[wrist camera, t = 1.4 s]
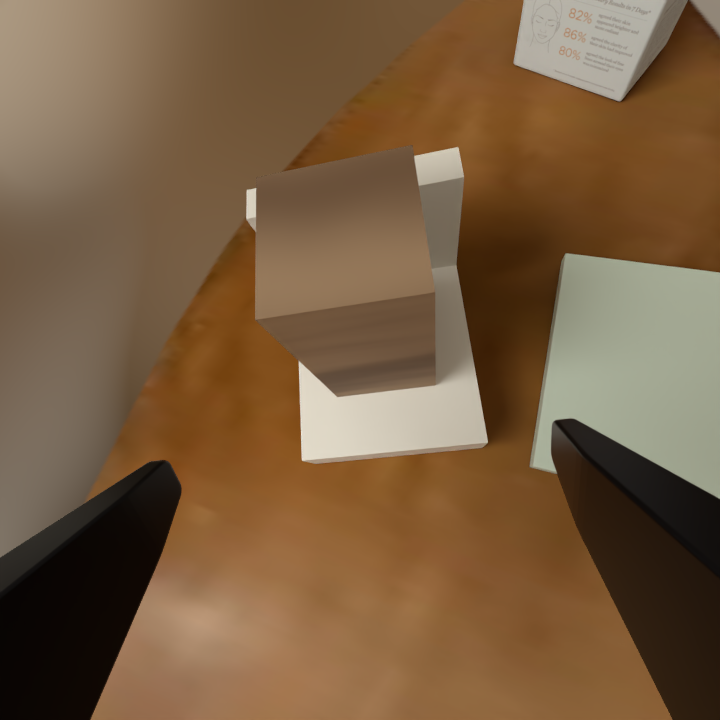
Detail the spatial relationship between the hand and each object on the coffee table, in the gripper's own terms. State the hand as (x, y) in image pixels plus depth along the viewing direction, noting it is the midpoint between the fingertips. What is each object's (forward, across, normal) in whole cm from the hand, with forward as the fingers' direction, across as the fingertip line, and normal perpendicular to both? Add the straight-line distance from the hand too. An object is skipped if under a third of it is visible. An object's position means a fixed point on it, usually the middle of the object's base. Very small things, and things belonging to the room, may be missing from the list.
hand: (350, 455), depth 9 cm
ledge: (+14, 0, +4) cm, 14 cm away
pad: (+12, -13, +6) cm, 19 cm away
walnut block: (+12, 0, +3) cm, 12 cm away
